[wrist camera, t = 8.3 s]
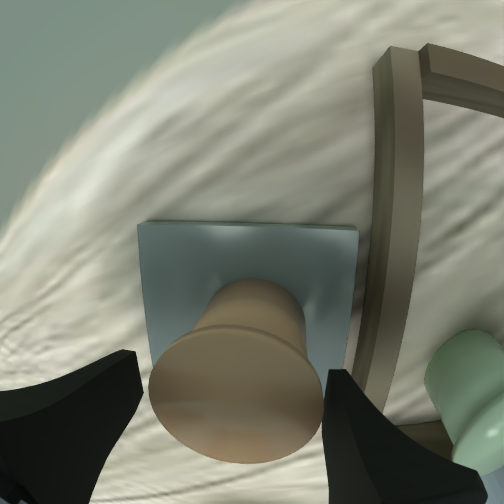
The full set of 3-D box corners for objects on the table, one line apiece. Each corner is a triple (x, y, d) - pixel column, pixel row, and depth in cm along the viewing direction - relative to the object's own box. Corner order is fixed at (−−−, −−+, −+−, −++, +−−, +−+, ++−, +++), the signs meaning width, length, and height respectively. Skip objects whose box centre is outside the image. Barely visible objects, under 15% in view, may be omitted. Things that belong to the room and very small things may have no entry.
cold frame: (509, 417, 16) (530, 448, 12) (336, 441, 18) (340, 488, 14) (570, 124, 11) (611, 122, 7) (372, 68, 12) (397, 36, 9)
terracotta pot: (305, 379, 15) (307, 469, 10) (197, 367, 16) (158, 448, 10) (321, 275, 14) (339, 343, 8) (196, 264, 15) (140, 321, 9)
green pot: (482, 399, 16) (521, 461, 10) (407, 409, 16) (436, 487, 10) (510, 320, 14) (571, 373, 8) (432, 324, 15) (486, 396, 9)
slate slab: (332, 401, 17) (334, 412, 16) (163, 387, 18) (158, 397, 17) (355, 227, 14) (359, 230, 13) (146, 221, 15) (137, 224, 14)
